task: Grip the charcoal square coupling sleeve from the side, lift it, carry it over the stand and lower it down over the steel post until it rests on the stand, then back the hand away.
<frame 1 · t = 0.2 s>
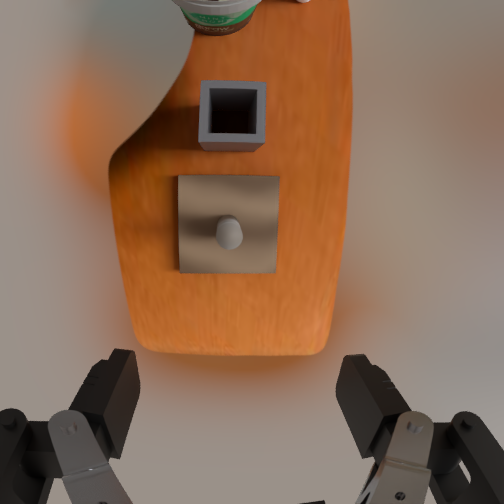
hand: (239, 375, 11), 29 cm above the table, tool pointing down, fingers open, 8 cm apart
food container: (219, 25, 32), on the table
coupling sleeve: (230, 127, 35), on the table
post stand: (227, 223, 38), on the table
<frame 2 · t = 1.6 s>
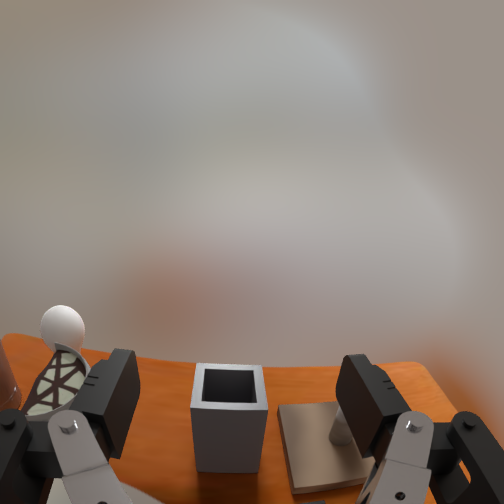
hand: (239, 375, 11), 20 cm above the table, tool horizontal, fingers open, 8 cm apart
food container: (88, 447, 24), on the table
coupling sleeve: (227, 451, 27), on the table
lightbulb: (75, 379, 34), on the table
post stand: (336, 445, 28), on the table
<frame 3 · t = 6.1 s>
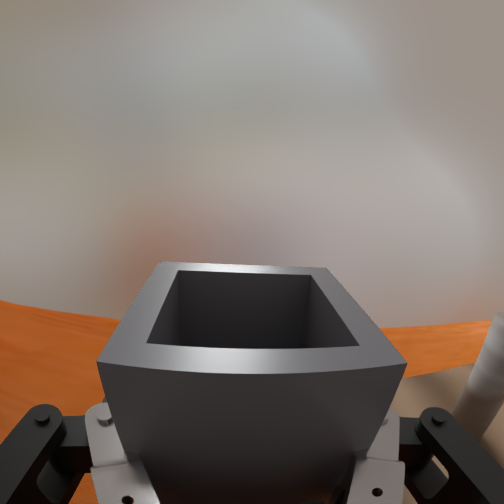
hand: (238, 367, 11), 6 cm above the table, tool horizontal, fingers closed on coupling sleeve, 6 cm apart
coupling sleeve: (236, 491, 11), on the table, touching gripper
post stand: (449, 450, 12), on the table
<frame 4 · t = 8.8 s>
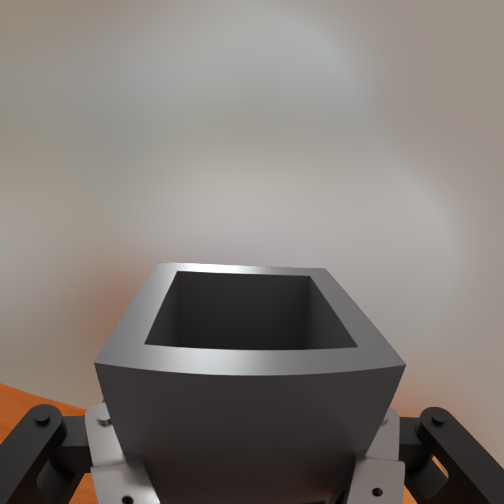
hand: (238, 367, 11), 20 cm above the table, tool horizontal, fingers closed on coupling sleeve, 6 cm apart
coupling sleeve: (236, 491, 11), point 14 cm above the table, touching gripper
when the fingers open (8 cm above the table, at t = 11.9 s): coupling sleeve stays where it is, resting on post stand.
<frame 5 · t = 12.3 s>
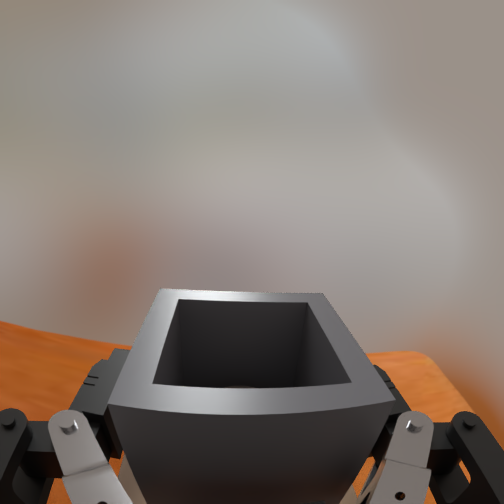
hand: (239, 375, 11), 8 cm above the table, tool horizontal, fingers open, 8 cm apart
coupling sleeve: (236, 500, 11), point 1 cm above the table, touching post stand
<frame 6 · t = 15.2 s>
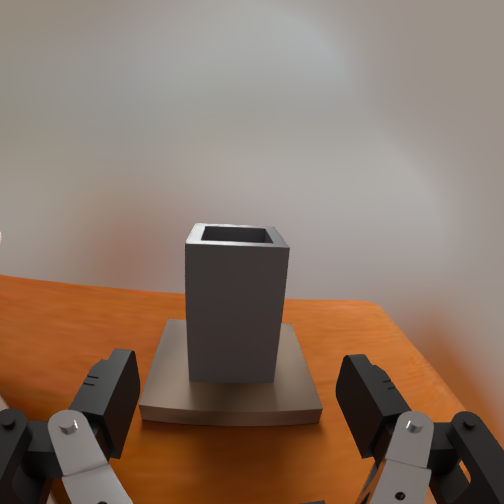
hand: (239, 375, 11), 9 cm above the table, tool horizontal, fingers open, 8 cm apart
coupling sleeve: (230, 358, 23), point 1 cm above the table, touching post stand
post stand: (229, 372, 24), on the table
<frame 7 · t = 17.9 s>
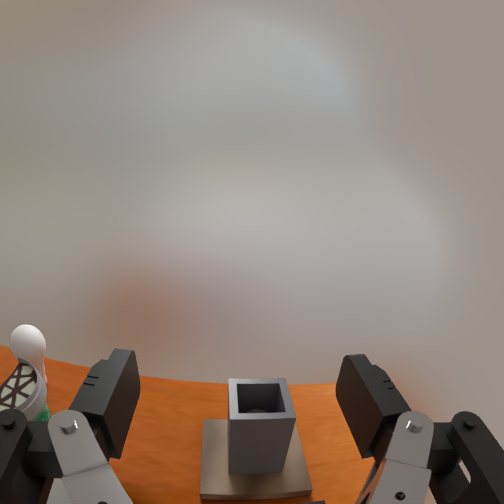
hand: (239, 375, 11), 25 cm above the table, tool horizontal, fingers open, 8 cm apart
food container: (45, 443, 26), on the table
coupling sleeve: (253, 454, 30), point 1 cm above the table, touching post stand
lightbulb: (42, 386, 36), on the table
post stand: (252, 460, 30), on the table
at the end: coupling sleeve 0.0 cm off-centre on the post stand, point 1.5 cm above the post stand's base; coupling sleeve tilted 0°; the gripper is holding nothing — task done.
